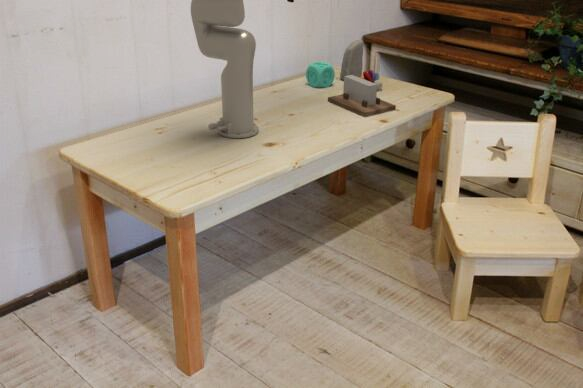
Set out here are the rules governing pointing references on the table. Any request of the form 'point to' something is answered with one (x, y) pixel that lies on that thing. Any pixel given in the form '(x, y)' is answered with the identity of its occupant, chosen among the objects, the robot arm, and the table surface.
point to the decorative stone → (352, 60)
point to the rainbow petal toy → (372, 78)
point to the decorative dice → (320, 74)
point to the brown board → (361, 105)
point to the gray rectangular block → (360, 89)
